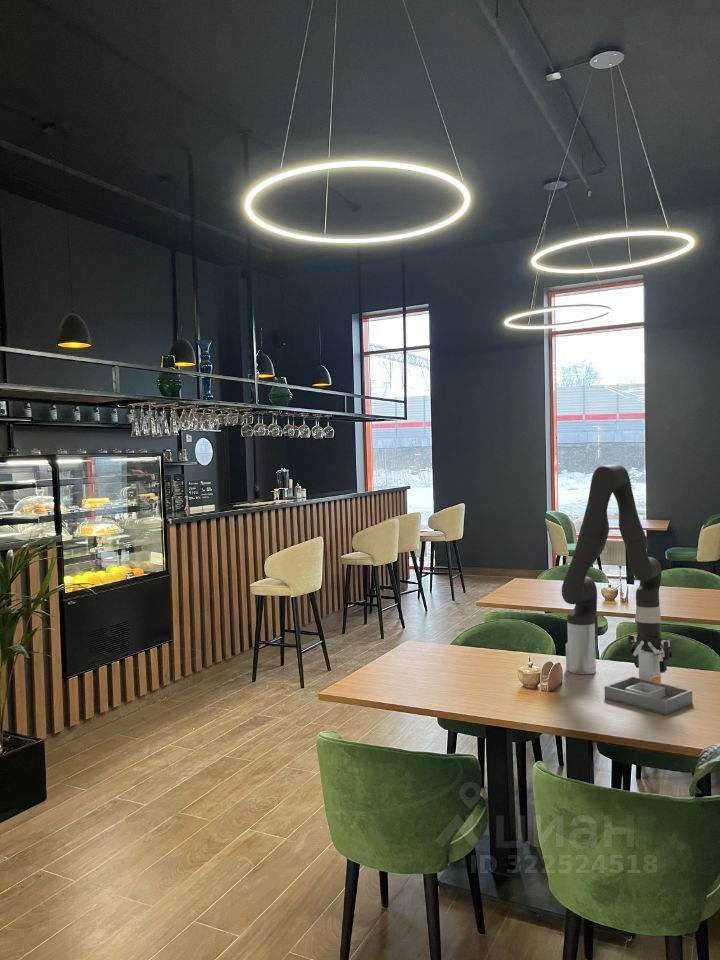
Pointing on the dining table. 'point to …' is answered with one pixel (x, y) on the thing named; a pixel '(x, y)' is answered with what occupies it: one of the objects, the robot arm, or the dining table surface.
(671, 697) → the walled box
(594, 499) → the robot arm
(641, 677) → the skincare box
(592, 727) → the dining table surface
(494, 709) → the dining table surface
